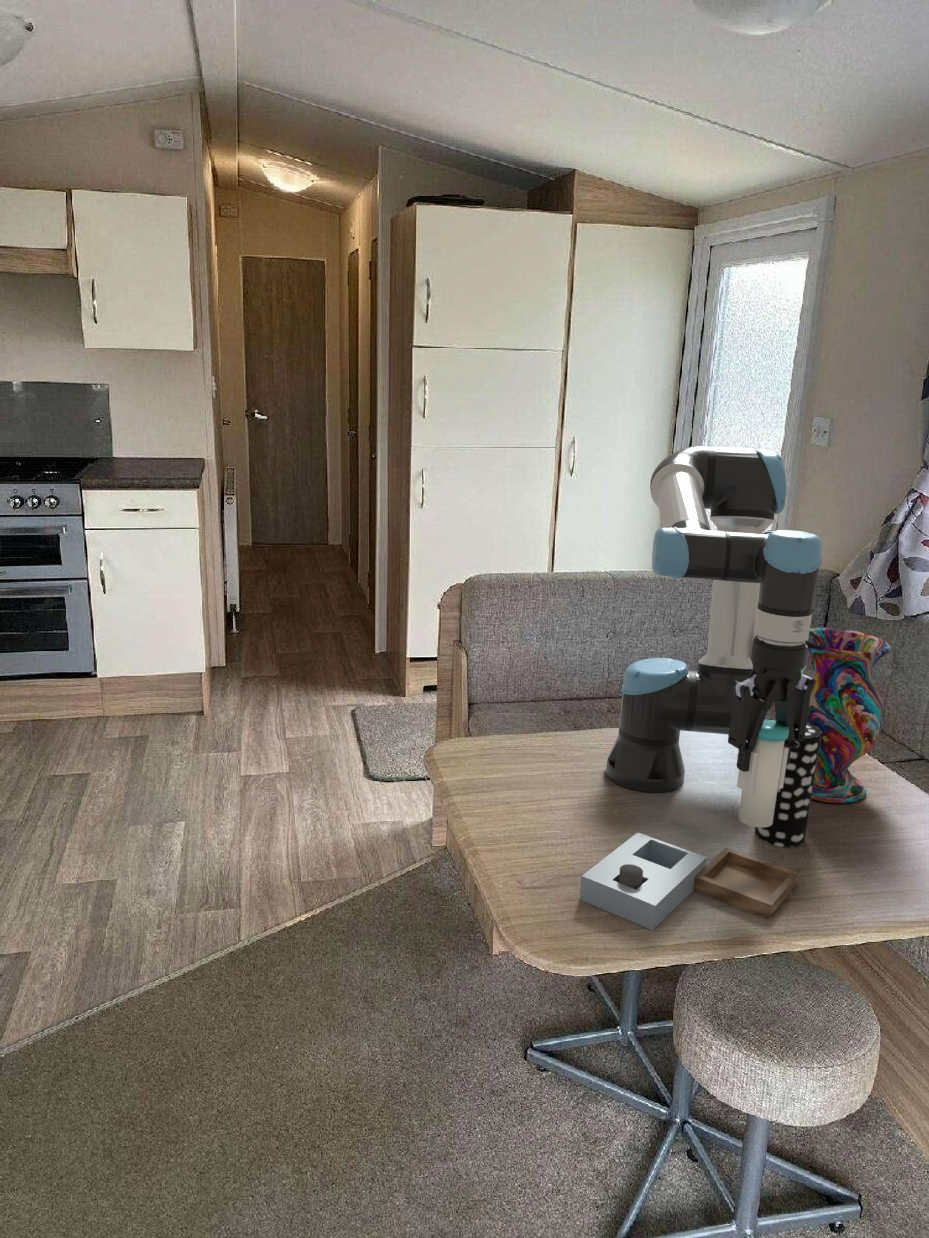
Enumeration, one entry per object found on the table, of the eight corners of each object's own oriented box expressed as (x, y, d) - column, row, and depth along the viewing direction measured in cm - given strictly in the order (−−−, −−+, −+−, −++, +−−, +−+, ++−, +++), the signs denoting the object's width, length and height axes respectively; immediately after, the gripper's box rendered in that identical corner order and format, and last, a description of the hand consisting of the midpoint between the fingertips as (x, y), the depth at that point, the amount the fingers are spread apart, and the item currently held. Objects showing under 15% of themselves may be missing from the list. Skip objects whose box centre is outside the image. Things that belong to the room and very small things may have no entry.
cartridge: (750, 830, 140) (764, 735, 136) (728, 813, 145) (740, 720, 141) (783, 826, 141) (797, 731, 138) (759, 809, 147) (772, 717, 143)
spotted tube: (804, 829, 166) (821, 724, 161) (804, 851, 159) (822, 741, 154) (755, 820, 169) (770, 716, 164) (753, 841, 161) (768, 732, 156)
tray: (693, 890, 145) (695, 876, 145) (723, 860, 155) (725, 847, 154) (769, 919, 138) (771, 905, 138) (796, 886, 148) (798, 873, 147)
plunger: (613, 897, 140) (615, 870, 139) (623, 888, 143) (626, 861, 142) (633, 906, 138) (636, 878, 137) (644, 896, 141) (647, 869, 140)
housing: (579, 899, 141) (581, 875, 140) (635, 854, 155) (637, 832, 154) (652, 930, 134) (655, 905, 133) (703, 879, 148) (706, 857, 147)
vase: (823, 814, 173) (848, 658, 165) (751, 774, 188) (771, 630, 180) (891, 797, 181) (918, 648, 173) (817, 760, 197) (839, 622, 189)
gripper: (747, 651, 129) (726, 806, 135) (847, 641, 136) (824, 789, 142) (713, 636, 136) (695, 784, 142) (810, 628, 142) (789, 769, 149)
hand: (759, 786), depth 142 cm, fingers closed on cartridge, 5 cm apart
